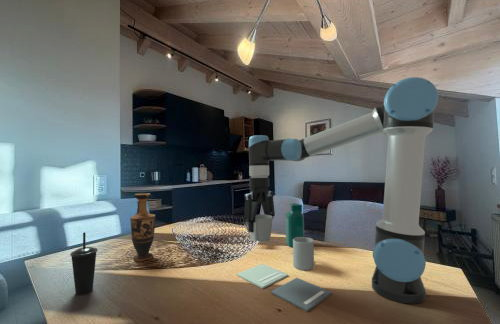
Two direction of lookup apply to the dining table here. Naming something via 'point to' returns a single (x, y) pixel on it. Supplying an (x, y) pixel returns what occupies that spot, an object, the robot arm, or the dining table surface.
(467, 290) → the dining table surface
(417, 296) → the robot arm
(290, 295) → the pad slate
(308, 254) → the mug
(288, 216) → the green bottle
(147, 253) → the vase
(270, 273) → the pad green
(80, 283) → the drinking cup
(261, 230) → the cup
